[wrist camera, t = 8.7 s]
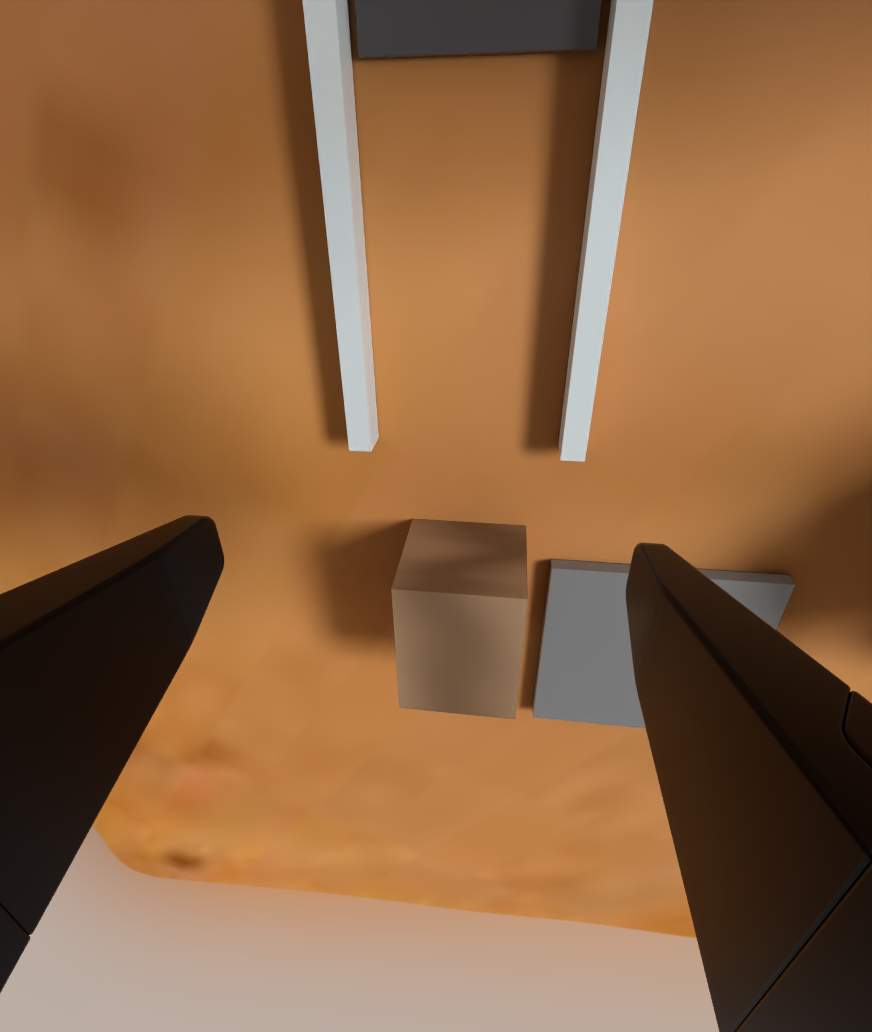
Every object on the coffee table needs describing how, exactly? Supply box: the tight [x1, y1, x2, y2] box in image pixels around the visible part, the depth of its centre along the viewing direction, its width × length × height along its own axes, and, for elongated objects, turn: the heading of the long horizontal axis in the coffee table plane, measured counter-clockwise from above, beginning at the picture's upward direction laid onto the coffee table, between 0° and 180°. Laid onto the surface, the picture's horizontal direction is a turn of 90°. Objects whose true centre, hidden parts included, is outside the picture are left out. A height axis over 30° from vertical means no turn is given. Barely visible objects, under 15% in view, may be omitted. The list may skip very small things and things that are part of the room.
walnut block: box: [391, 519, 528, 719], centre depth 22 cm, size 4×6×4 cm
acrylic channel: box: [303, 0, 654, 461], centre depth 16 cm, size 8×14×1 cm, turn 0°
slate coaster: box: [533, 559, 795, 728], centre depth 24 cm, size 9×9×1 cm
